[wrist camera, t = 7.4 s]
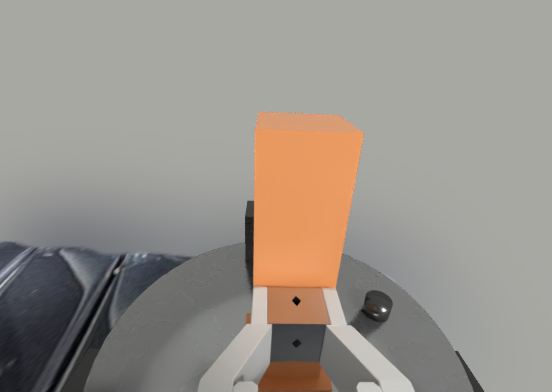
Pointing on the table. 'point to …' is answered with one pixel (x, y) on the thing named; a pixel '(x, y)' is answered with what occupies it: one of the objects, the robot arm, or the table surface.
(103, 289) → the table surface
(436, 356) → the cooker
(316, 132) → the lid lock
